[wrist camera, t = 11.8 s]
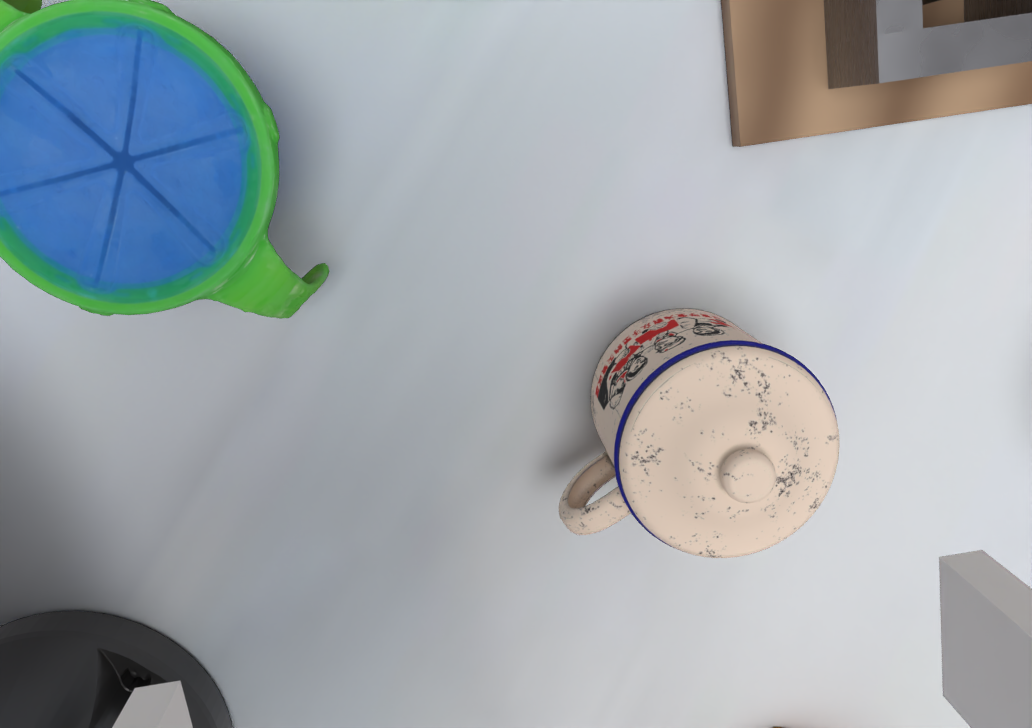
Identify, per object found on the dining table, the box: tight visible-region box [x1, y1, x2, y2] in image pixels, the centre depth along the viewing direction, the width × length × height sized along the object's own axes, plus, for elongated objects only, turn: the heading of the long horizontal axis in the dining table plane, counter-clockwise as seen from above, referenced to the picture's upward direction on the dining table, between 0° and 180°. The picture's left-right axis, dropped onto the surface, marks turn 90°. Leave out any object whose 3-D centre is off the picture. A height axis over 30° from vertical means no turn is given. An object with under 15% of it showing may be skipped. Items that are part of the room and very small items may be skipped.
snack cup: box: [0, 0, 329, 318], centre depth 36 cm, size 16×11×10 cm
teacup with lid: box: [559, 309, 839, 558], centre depth 39 cm, size 12×9×12 cm
